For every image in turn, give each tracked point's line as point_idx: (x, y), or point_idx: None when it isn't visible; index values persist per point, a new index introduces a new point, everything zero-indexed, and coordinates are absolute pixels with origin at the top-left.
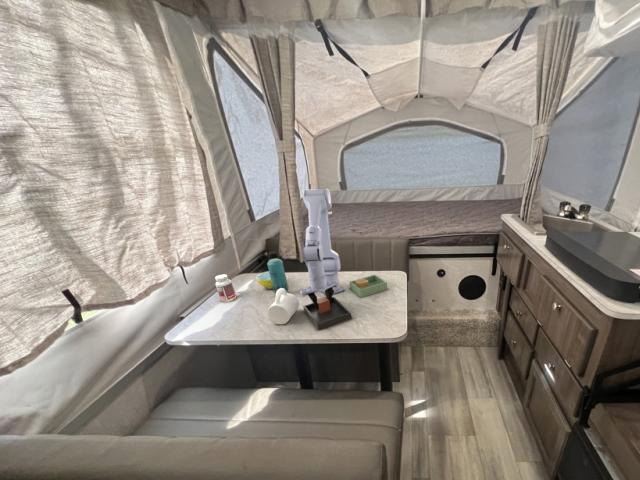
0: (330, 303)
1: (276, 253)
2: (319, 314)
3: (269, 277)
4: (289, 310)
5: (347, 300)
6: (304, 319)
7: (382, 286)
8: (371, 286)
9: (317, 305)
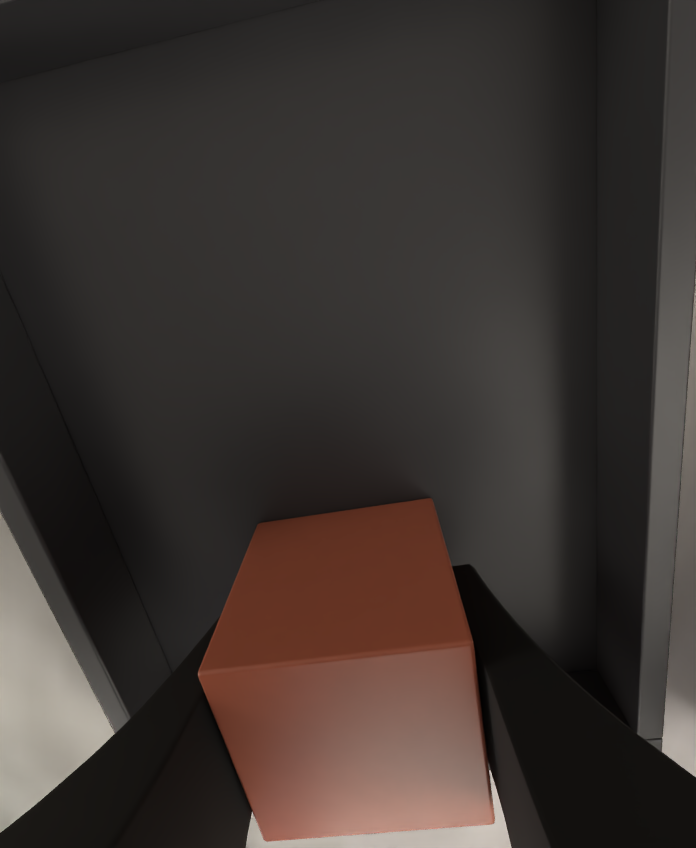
0: (212, 629)
1: None
2: (450, 475)
3: None
4: None
5: (18, 680)
6: (691, 458)
7: None
8: None
9: (481, 626)
